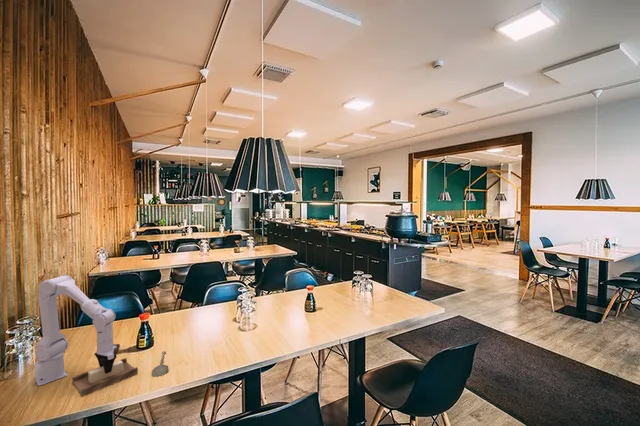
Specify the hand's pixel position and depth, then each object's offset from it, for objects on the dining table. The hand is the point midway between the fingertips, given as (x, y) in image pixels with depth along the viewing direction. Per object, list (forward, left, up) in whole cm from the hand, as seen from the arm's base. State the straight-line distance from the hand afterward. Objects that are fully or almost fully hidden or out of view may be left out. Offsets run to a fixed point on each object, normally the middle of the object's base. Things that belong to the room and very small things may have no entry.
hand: (105, 370), depth 131 cm
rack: (0, 0, -4) cm, 4 cm away
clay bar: (0, 0, -3) cm, 3 cm away
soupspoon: (+20, -7, -4) cm, 22 cm away
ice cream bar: (+9, +24, -4) cm, 26 cm away
